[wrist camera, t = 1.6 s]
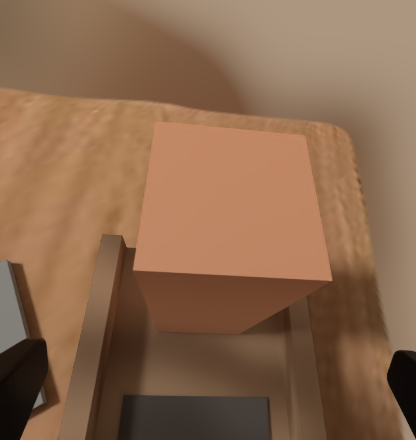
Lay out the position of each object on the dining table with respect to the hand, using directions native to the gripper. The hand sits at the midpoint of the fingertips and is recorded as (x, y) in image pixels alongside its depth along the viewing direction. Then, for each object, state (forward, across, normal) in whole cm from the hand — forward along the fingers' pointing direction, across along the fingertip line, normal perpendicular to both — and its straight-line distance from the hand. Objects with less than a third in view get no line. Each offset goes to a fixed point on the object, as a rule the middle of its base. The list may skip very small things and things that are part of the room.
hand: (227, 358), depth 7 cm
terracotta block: (+11, 0, +5) cm, 12 cm away
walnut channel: (+8, 0, +8) cm, 11 cm away
